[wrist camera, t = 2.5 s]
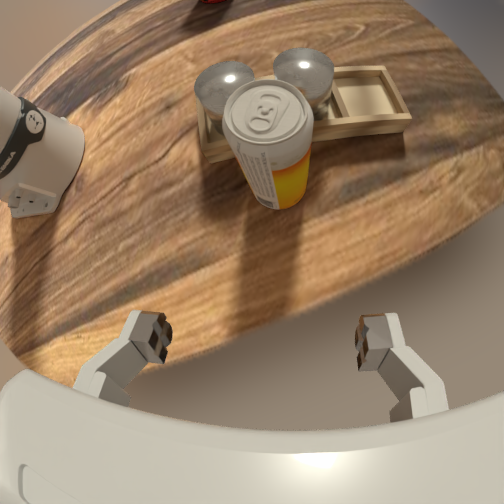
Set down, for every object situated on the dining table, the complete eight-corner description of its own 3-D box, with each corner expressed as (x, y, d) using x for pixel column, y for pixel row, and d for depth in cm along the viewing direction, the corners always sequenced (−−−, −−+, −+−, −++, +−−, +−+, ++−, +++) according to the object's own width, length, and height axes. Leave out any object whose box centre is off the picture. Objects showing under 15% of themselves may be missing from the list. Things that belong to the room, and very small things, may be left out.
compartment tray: (210, 163, 32) (201, 151, 28) (203, 108, 33) (195, 93, 29) (403, 132, 28) (412, 118, 25) (378, 81, 30) (384, 65, 26)
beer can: (312, 169, 30) (323, 86, 15) (296, 218, 29) (299, 161, 15) (262, 155, 31) (237, 69, 16) (244, 201, 31) (203, 138, 16)
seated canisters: (215, 143, 30) (196, 111, 23) (210, 104, 30) (192, 70, 23) (334, 120, 28) (342, 83, 21) (320, 83, 29) (323, 45, 22)
